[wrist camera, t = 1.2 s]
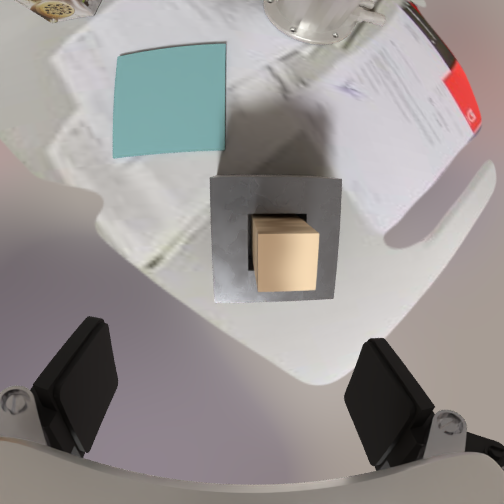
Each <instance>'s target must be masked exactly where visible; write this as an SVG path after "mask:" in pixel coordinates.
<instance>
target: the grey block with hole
mask: <svg viewBox="0 0 504 504" xmlns="http://www.w3.org/2000/svg"><path fill="white" fill-rule="evenodd" d="M341 191H342V179H338V178H330V177H322V176H306V175H216V176H213V177H210V207H211V238H212V261H213V281H214V299H215V303H243V302H277V301H301V300H320V299H333V298H334V289H335V279H336V269H337V258H338V246H339V231H340V214H341ZM272 213H295V214H296V215H297V216H298V217H300V218H301V219H302V220H303V221H305V222H306V223H307V224H308V225H310V226H311V227H312V228H313V229H315V230H316V231H317V232H318V233H319V249H318V264H317V278H316V290H305V291H278V292H258V289H257V284H256V278H255V272H254V266H253V261H252V255H251V214H272Z"/></svg>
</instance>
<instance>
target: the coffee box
mask: <svg viewBox="0 0 504 504" xmlns="http://www.w3.org/2000/svg"><path fill="white" fill-rule="evenodd" d="M14 1H16V2H18V3H20V4H21V5H23V6H25V7H26V8H28V9H30V10H32V11H33V12H35V13H36V14H38V15H40V16H41V17H43V18H44V19H46V20H48V21H49V22H51V23H55V22H60V21H65V20H70V19H75V18H81V17H87V16H94V15H95V13H96V10H97V8H98V6H99V4H100V2H101V0H14Z"/></svg>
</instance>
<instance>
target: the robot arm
mask: <svg viewBox="0 0 504 504" xmlns="http://www.w3.org/2000/svg"><path fill="white" fill-rule="evenodd" d="M359 5H360V6H363V7H366V8H370V9H372V8H373V7H374V2H373V1H371V0H264V5H263V6H264V10H265V13H266V15H267V17H268V19H269V20H270V21H271V23H272V24H273V25H274V26H275V27H276V28H277V29H279V30H280V31H281V32H283V33H284V34H286V35H287V36H289V37H292V38H294V39H296V40H299V41H302V42H305V43H310V44H319V45H325V44H333V43H336V42H339V41H341V40H343V39H345V38H346V37H347V36H348V35H349V34H350V33H351V32H352V31H353V30H354V28H355V25H356V22H360V23H361V22H362V21H366V22H369V23H372V24H375V25H379V26H383V25H384V24H385V20H386V19H385V16H384V15H383V14H380V13H376V12H372V11H371V12H370V11H367V10H364V8H363V7H360V6H359ZM291 31H293V32H291ZM334 37H335V38H334ZM117 386H118V377H117V372H116V367H115V362H114V357H113V351H112V346H111V339H110V333H109V327H108V324H106V323H104V320H103V319H101V318H96V317H90V316H89V317H87V318H86V319H85V320H84V321H83V322H82V324H81V325H80V326H79V327H78V328H77V329H76V331H75V332H74V333H73V334H72V335H71V337H70V338H69V339H68V340H67V342H66V343H65V344H64V345H63V346H62V348H61V349H60V350H59V351H58V353H57V354H56V355H55V356H54V358H53V359H52V360H51V362H50V363H49V364H48V365H47V367H46V368H45V369H44V371H43V372H42V373H41V374H40V376H39V377H38V378H37V380H36V381H35V382H34V384H33V387H32V388H31V390H29V389H27V388H25V387H23V386H11V387H8V388H6V389H4V390H3V391H2V392H1V393H0V504H504V446H503V445H502V444H500V443H499V442H496V441H494V440H490V439H487V438H484V437H481V436H478V435H475V434H472V433H469V432H467V425H466V422H465V420H464V418H463V417H462V416H461V415H459V414H458V413H457V412H454V411H451V410H441V411H438V412H437V413H436V414H434V412H433V409H434V408H435V406H434V404H433V403H432V402H431V400H430V399H429V397H428V396H427V395H426V393H425V392H424V391H423V389H422V388H421V386H420V385H419V384H418V382H417V381H416V379H415V378H414V377H413V375H412V374H411V373H410V372H409V370H408V369H407V367H406V366H405V365H404V363H403V362H402V361H401V359H400V358H399V357H398V355H397V354H396V353H395V352H394V350H393V349H392V348H391V346H390V345H389V344H388V342H387V341H386V340H385V339H384V338H370V339H369V340H368V341H367V342H365V343H364V344H363V347H362V349H361V352H360V355H359V358H358V361H357V363H356V366H355V369H354V372H353V374H352V377H351V379H350V382H349V384H348V387H347V389H346V392H345V395H344V400H345V403H346V406H347V408H348V411H349V413H350V416H351V418H352V420H353V422H354V425H355V428H356V430H357V432H358V435H359V437H360V440H361V442H362V444H363V447H364V450H365V452H366V455H367V457H368V460H369V462H370V464H371V465H372V466H375V468H376V471H374V472H370V473H365V474H360V475H355V476H349V477H344V478H337V479H330V480H323V481H315V482H306V483H305V482H304V483H292V484H274V485H233V484H215V483H202V482H192V481H184V480H176V479H169V478H163V477H157V476H152V475H147V474H142V473H137V472H133V471H128V470H124V469H120V468H116V467H112V466H109V465H105V464H101V463H98V462H94V461H91V460H88V459H84V458H83V456H84V454H85V452H86V453H88V452H89V451H90V449H91V447H92V445H93V442H94V440H95V437H96V435H97V432H98V430H99V427H100V425H101V423H102V421H103V418H104V416H105V414H106V411H107V409H108V406H109V404H110V402H111V400H112V398H113V396H114V393H115V391H116V389H117Z"/></svg>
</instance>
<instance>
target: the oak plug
mask: <svg viewBox="0 0 504 504" xmlns="http://www.w3.org/2000/svg"><path fill="white" fill-rule="evenodd" d="M318 249H319V233H318V232H317V231H316V230H315V229H313V228H312V227H311V226H310V225H308V224H307V223H306V222H305V221H303V220H302V219H301V218H300V217H298V216H297V215H296V214H295V213H272V214H251V255H252V261H253V266H254V272H255V278H256V284H257V289H258V292H278V291H305V290H316V278H317V264H318Z"/></svg>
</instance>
